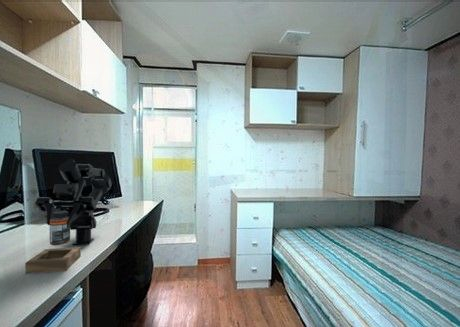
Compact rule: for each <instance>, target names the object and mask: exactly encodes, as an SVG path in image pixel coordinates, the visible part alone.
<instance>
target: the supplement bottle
mask: <svg viewBox="0 0 460 327" xmlns="http://www.w3.org/2000/svg"><path fill="white" fill-rule="evenodd" d="M68 219H69V216H68V210H56V211H55V212H53V217H52V218H51V219H50V225H49V245H51V246H55V247H56V246H62V245H66V244H68V243H69V242H70V241H71V229H70V224H69V225H68V224H67V222H68Z"/></svg>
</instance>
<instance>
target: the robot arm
mask: <svg viewBox="0 0 460 327" xmlns="http://www.w3.org/2000/svg"><path fill="white" fill-rule="evenodd" d="M58 170H59V172H60V175H61V176H62V178H63V180H64V181H66V182H67V183H55V184H54V186H53V191H52V194H55V195H56V198H57V199H58V200H54V199H52V198H51V197H46V196H45V197H43V196H42V197H41V196H40V197H37V198H36V199H35V201H34V205H35V206H36V207H37V208H38V209H39V211H40V212H46V225H47V226H50V219H51V218H52V217H53V212H55V211H57V209H56V208H57V207H60V208H61V207H62V208H63V207H72V210H71V212H70V215H69V216H68V217H69V219H68V222H67V224H68V225H69V224H70V231H72V230H75V241H74V242H73V243H72V246H74V245H75V246H80V245H90V244H91V243H92V242H93V241H94V240H95V238H94V237H92V230H93V229H96V228H97V220H96V217H95V216H94V211H95V210H96V209H97V205H98V204H99V201H100V200H101V198H102V196H103V195H104V194H107V193H108V192H109V190H111V189H112V188H111V187H112V185H113V184H112V180H111V177H110V176H109V175H108V174H107V173H106V171H105V169H104V168H103V169H102V168H96V167H94V166H93V165H91V164H90V163H86V164H84V163H76V161H75V159H73V158H72V159H71V158H69V159H68V160H66V161H63V162H62V163H61V164H59V165H58ZM95 177H96V179H95ZM89 178H91V180H90V184H91V186H92V187H91V188H92V191H91V192H90V194H89V195H88V196H83V195H82V192H83V190H84V188H85V187H87V183H86V179H89ZM100 178H101V179H100ZM79 198H80V199H79Z"/></svg>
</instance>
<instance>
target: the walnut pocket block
mask: <svg viewBox="0 0 460 327" xmlns="http://www.w3.org/2000/svg"><path fill="white" fill-rule="evenodd" d="M81 249H82V248H81V246H76V247H60V248H58V247H57V248H44V249H43V250H42V251H40V252H38V254H36V255H35V256H33V257H31V258H30V259H29V260H27V261H26V262H25V267H24V268H25V271H24V273H25V275H27V274H40V273H51V272H52V273H53V272H61V271H62V272H66V271H68V270H69V269H70V268H71V267H72V266H73V265H74V264H75V263H76V262H77V261H78V260H79V259H80V258H81V257H82V256H81V254H82V253H81V252H82V251H81Z"/></svg>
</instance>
